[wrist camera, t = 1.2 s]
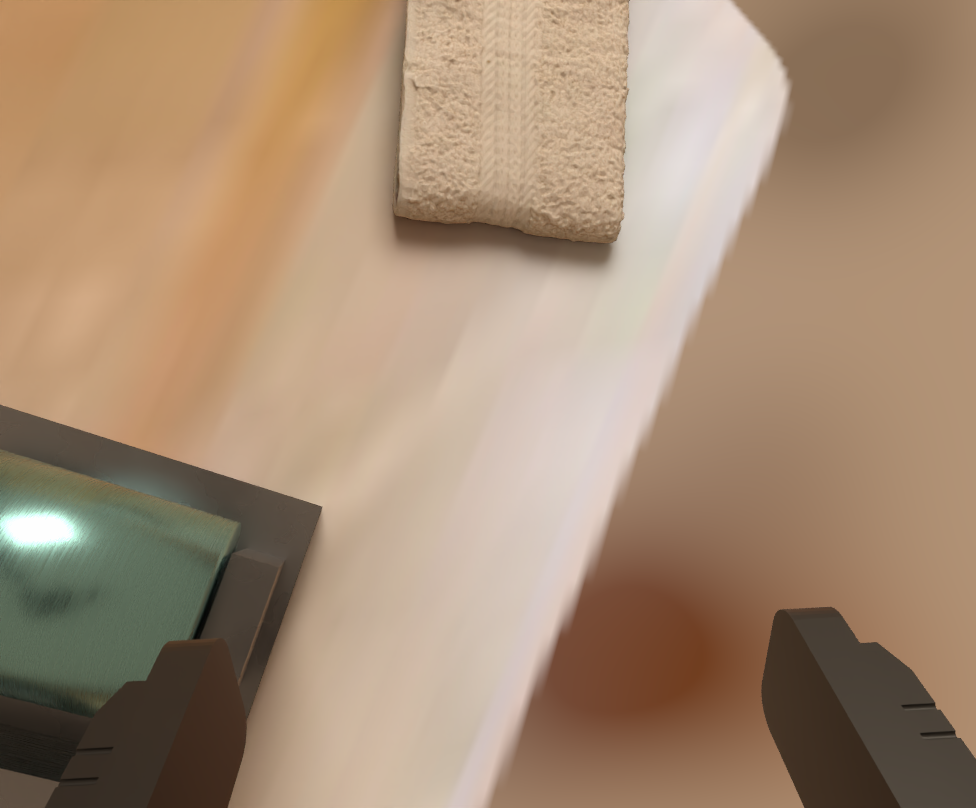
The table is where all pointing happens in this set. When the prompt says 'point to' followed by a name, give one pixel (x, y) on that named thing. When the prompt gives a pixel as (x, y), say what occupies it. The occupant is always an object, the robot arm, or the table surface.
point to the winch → (122, 582)
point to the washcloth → (514, 115)
